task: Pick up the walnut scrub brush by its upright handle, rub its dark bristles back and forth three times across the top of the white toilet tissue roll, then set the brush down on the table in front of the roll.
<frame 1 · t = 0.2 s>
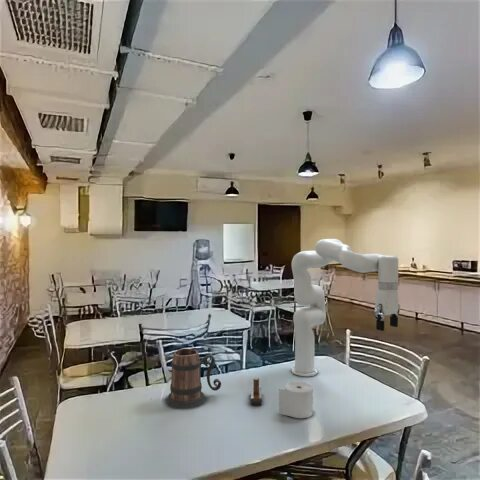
hand: (387, 328, 165), 31 cm above the table, tool pointing down, fingers open, 9 cm apart
brush: (256, 399, 170), on the table
tankard: (193, 399, 171), on the table
toilet tissue: (297, 413, 158), on the table
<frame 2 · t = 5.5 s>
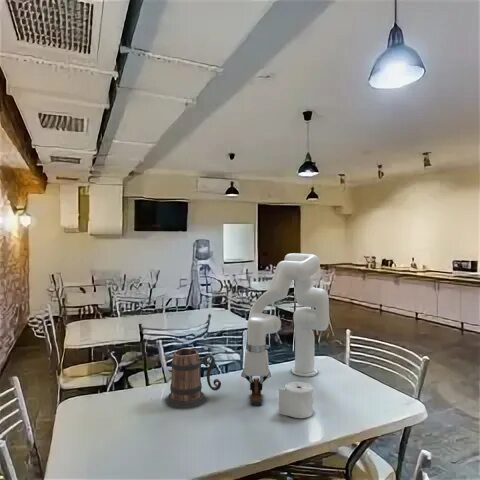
hand: (256, 391, 170), 4 cm above the table, tool pointing down, fingers closed on brush, 2 cm apart
brush: (256, 399, 170), on the table, touching gripper
everything else where it was.
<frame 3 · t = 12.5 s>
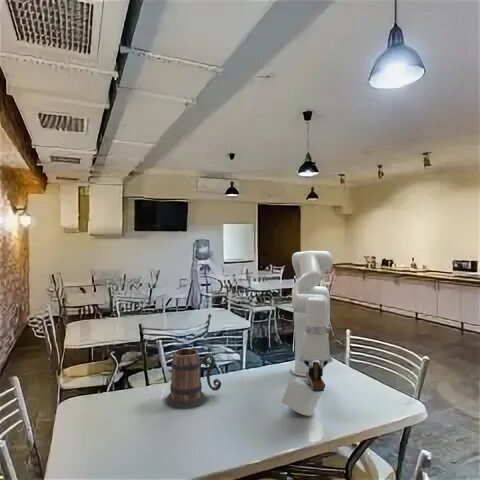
hand: (315, 377, 157), 14 cm above the table, tool pointing down, fingers closed on brush, 2 cm apart
brush: (315, 385, 157), point 11 cm above the table, touching gripper, toilet tissue
toilet tissue: (298, 408, 158), point 2 cm above the table, touching brush
everything else where it was.
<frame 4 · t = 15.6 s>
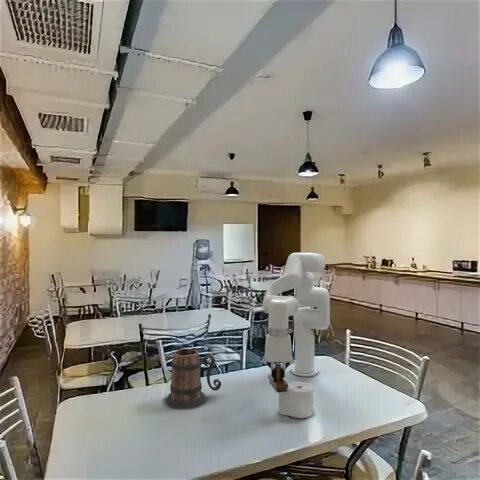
hand: (277, 378, 158), 13 cm above the table, tool pointing down, fingers closed on brush, 2 cm apart
brush: (277, 386, 158), point 10 cm above the table, touching gripper
toilet tissue: (297, 413, 158), on the table
everything else where it was.
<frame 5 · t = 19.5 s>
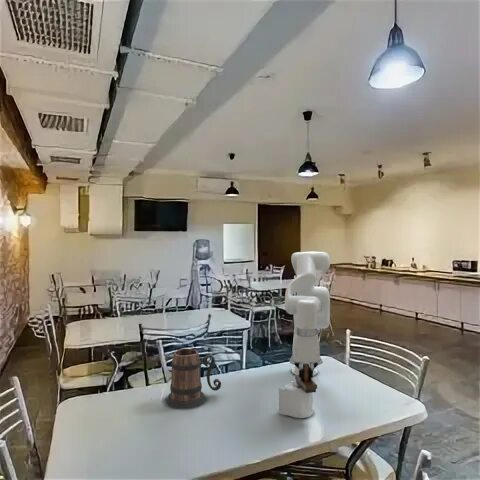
hand: (305, 379, 157), 13 cm above the table, tool pointing down, fingers closed on brush, 2 cm apart
brush: (305, 387, 158), point 10 cm above the table, touching gripper
everything else where it was.
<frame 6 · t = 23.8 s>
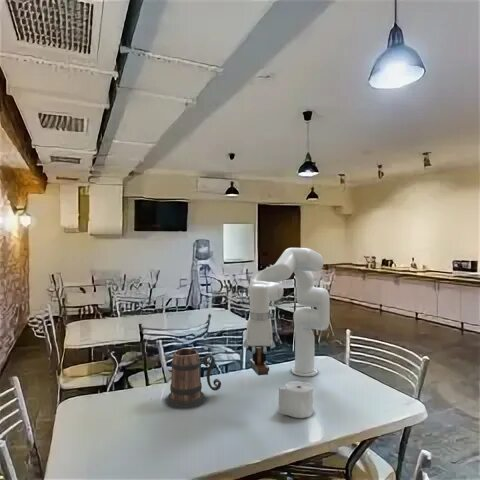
hand: (259, 362, 160), 19 cm above the table, tool pointing down, fingers closed on brush, 2 cm apart
brush: (259, 370, 160), point 16 cm above the table, touching gripper
everything else where it was.
when the fingers open (3 cm above the table, at t = 27.4 s): brush stays where it is, on the table.
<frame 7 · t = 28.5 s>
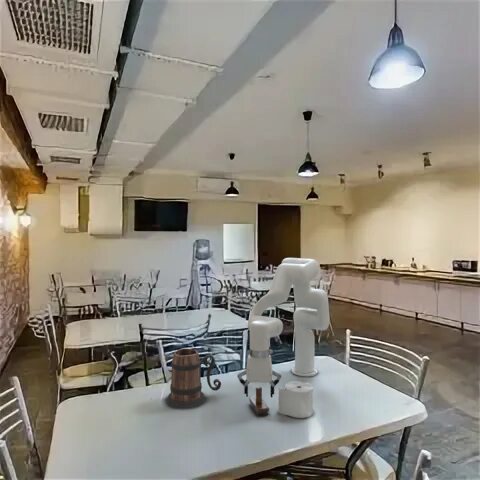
hand: (259, 395, 161), 5 cm above the table, tool pointing down, fingers open, 9 cm apart
brush: (258, 409, 161), on the table
everything else where it was.
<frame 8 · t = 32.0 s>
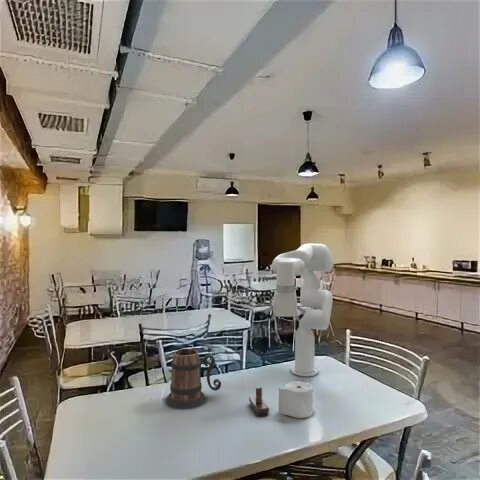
hand: (284, 329, 173), 28 cm above the table, tool pointing down, fingers open, 9 cm apart
nothing on the table moved.
at the end: brush inside the target area (0.1 cm from its centre), on the table; toilet tissue moved 0.3 cm from its start; brush tilted 0° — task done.
